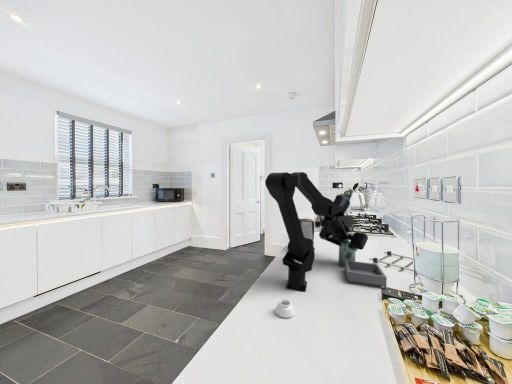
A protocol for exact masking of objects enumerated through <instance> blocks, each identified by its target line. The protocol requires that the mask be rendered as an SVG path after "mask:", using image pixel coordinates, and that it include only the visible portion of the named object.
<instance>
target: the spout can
mask: <svg viewBox="0 0 512 384" xmlns="http://www.w3.org/2000/svg"><path fill="white" fill-rule="evenodd" d="M348 233H349V234H354V233H355V232H352V231H350V232H348ZM350 244H351V241H350V240H348V239H346V240H345V241H339V246H338V266H340V267H342V268H344V269H345V260H347V261H356V254H357V253H356V252H357V251H355V250H353V249H352V248H350V247H349V246H350Z"/></svg>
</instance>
